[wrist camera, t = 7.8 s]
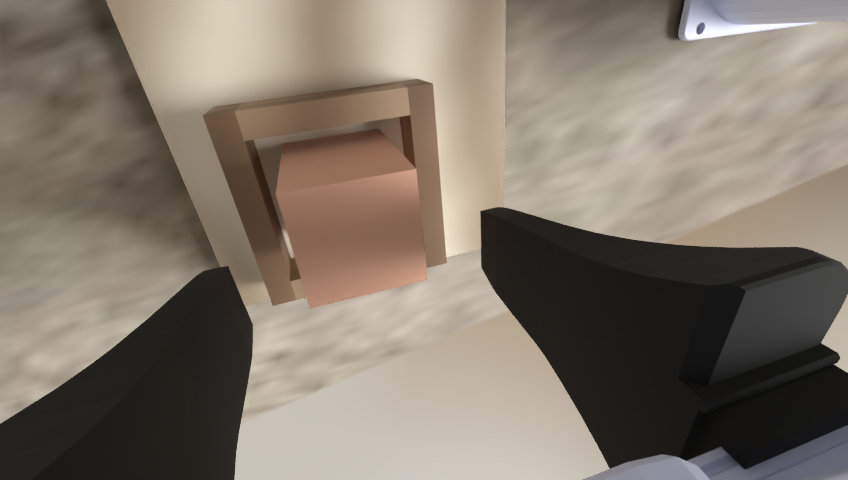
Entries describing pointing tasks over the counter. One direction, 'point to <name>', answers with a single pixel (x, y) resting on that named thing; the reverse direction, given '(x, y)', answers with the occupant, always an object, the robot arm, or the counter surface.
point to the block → (351, 215)
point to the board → (322, 109)
